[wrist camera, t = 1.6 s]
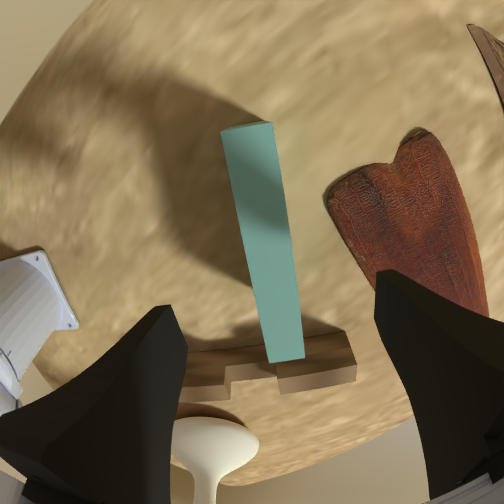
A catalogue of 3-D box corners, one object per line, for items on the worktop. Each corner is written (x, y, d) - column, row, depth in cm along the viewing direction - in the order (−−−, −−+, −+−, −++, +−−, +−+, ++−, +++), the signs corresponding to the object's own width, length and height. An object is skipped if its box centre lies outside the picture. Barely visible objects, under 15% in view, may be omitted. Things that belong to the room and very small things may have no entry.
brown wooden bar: (169, 369, 26) (161, 402, 22) (162, 354, 25) (152, 388, 21) (344, 347, 25) (355, 381, 21) (344, 330, 24) (357, 364, 20)
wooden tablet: (313, 196, 20) (318, 203, 18) (423, 119, 17) (435, 121, 16) (424, 382, 29) (429, 392, 27) (490, 334, 26) (496, 343, 25)
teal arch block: (291, 289, 22) (305, 357, 16) (264, 294, 22) (269, 363, 16) (264, 120, 17) (272, 122, 11) (231, 126, 17) (219, 131, 11)
